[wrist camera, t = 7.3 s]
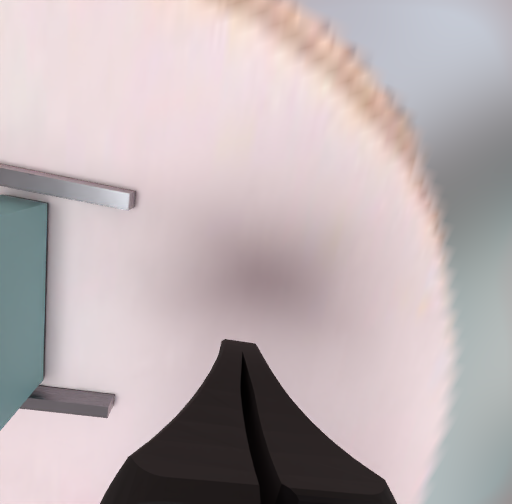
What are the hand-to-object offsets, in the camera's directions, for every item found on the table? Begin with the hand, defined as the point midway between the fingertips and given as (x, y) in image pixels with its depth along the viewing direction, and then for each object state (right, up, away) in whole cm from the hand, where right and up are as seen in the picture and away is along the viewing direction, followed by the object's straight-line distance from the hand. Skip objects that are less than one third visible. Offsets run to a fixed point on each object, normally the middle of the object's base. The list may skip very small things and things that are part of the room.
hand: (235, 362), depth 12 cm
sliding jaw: (-14, +1, +8) cm, 17 cm away
